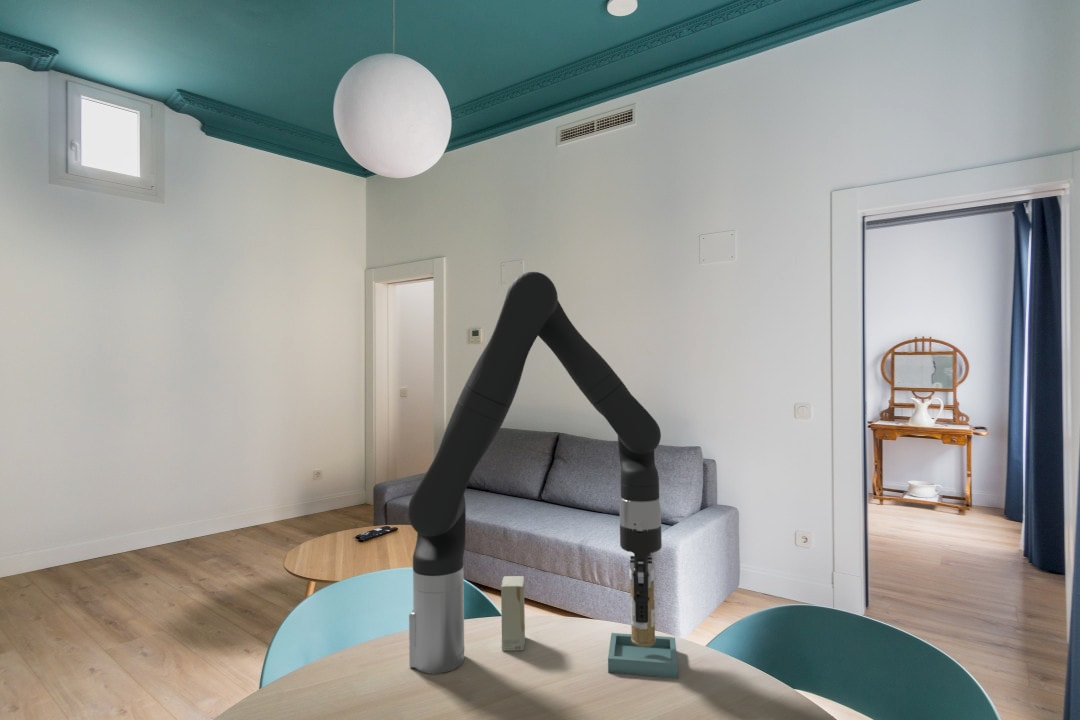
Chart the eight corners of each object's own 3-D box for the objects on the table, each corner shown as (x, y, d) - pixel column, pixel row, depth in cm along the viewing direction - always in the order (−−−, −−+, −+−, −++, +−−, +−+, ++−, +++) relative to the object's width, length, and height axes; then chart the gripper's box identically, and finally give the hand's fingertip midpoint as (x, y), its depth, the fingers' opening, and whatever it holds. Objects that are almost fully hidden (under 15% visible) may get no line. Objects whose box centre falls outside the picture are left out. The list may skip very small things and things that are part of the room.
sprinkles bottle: (661, 643, 104) (659, 569, 105) (642, 650, 102) (641, 574, 102) (643, 634, 108) (642, 562, 109) (625, 640, 106) (624, 567, 106)
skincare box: (524, 651, 109) (523, 586, 110) (501, 651, 109) (500, 587, 110) (525, 635, 116) (524, 574, 116) (503, 636, 116) (503, 575, 116)
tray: (608, 672, 101) (608, 658, 101) (611, 645, 111) (611, 632, 111) (678, 678, 99) (677, 663, 99) (675, 650, 109) (675, 637, 109)
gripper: (621, 512, 113) (623, 599, 113) (617, 532, 99) (619, 632, 99) (660, 513, 112) (662, 601, 112) (662, 533, 98) (664, 635, 98)
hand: (642, 615), depth 105 cm, fingers closed on sprinkles bottle, 4 cm apart
